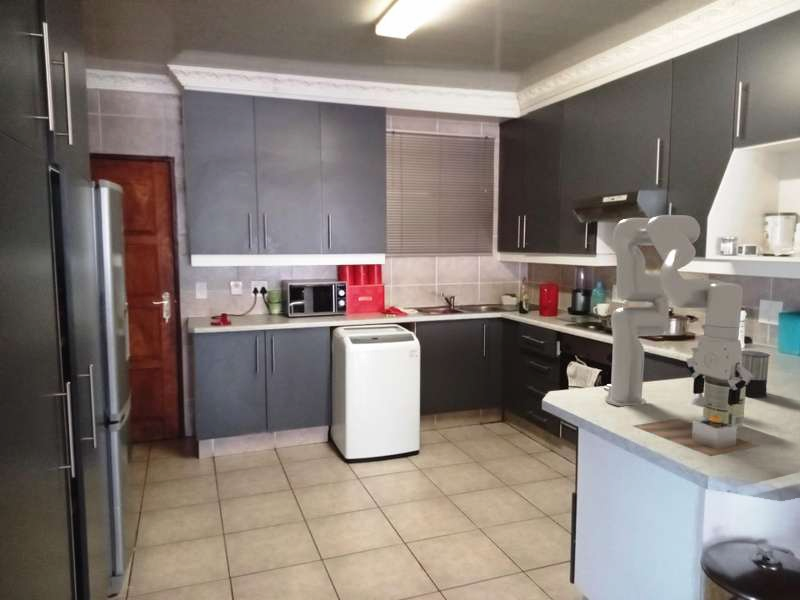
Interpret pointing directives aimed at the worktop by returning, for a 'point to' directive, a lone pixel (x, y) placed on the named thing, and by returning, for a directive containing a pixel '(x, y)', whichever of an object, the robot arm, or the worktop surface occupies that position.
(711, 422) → the post
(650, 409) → the worktop surface
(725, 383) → the coffee can
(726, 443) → the white hollow square box
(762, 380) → the milk frother
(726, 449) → the board
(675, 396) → the worktop surface
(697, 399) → the chalice
